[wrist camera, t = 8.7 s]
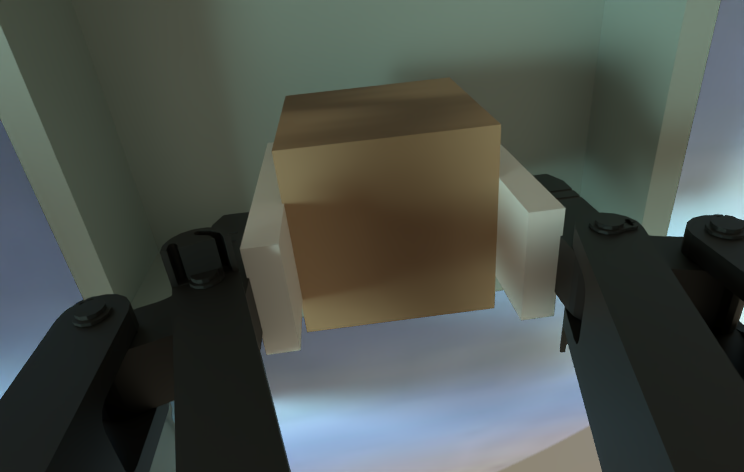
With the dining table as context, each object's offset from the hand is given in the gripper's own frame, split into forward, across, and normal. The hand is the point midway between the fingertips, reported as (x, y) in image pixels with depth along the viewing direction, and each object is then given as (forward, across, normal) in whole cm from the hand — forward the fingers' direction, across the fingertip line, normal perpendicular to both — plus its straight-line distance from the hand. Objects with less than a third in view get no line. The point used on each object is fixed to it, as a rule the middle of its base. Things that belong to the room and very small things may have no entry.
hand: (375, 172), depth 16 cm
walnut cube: (0, 0, 0) cm, 0 cm away
